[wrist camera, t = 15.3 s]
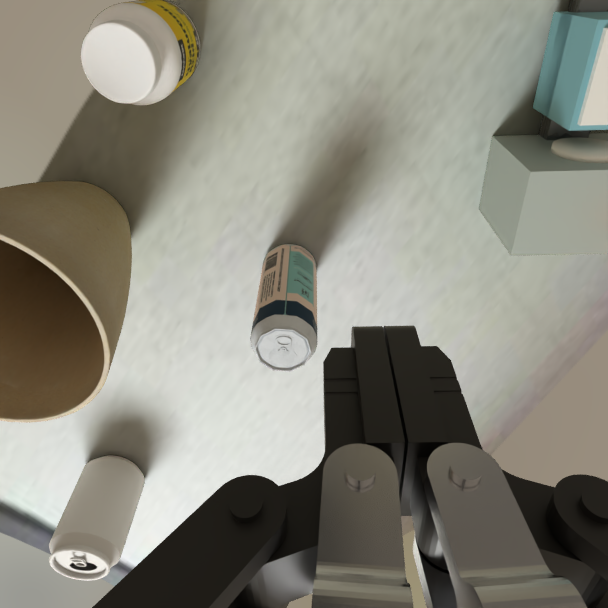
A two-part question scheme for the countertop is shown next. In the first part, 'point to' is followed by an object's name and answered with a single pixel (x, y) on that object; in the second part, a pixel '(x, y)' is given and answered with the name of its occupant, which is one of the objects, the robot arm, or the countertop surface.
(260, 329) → the beer can
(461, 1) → the countertop surface
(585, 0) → the rail
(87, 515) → the can
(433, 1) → the countertop surface
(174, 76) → the supplement bottle
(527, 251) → the cabinet
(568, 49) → the box
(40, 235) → the plant pot
